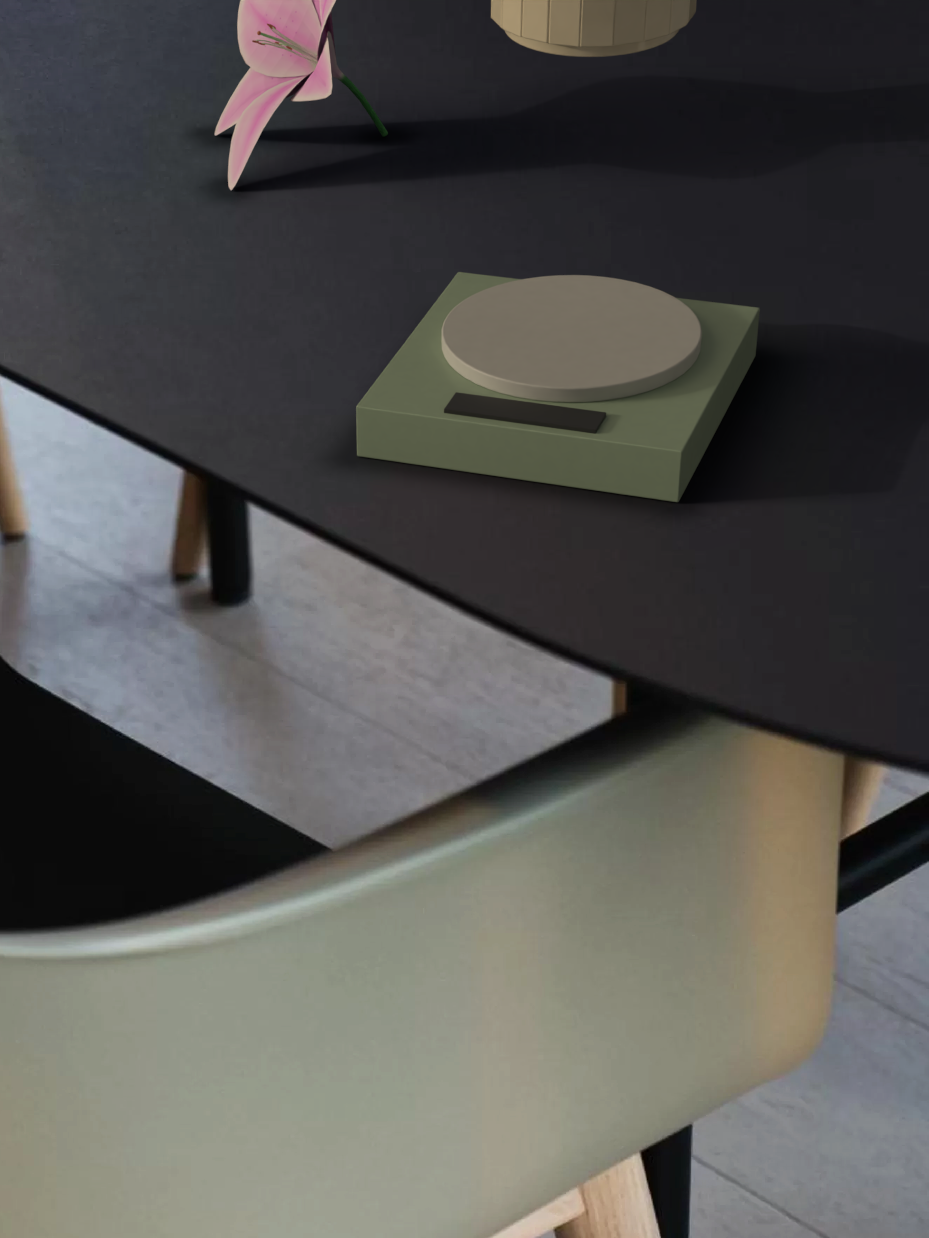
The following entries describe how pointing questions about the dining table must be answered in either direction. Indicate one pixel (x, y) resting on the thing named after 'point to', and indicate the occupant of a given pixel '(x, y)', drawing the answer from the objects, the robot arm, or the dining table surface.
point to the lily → (280, 68)
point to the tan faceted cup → (592, 24)
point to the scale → (561, 383)
